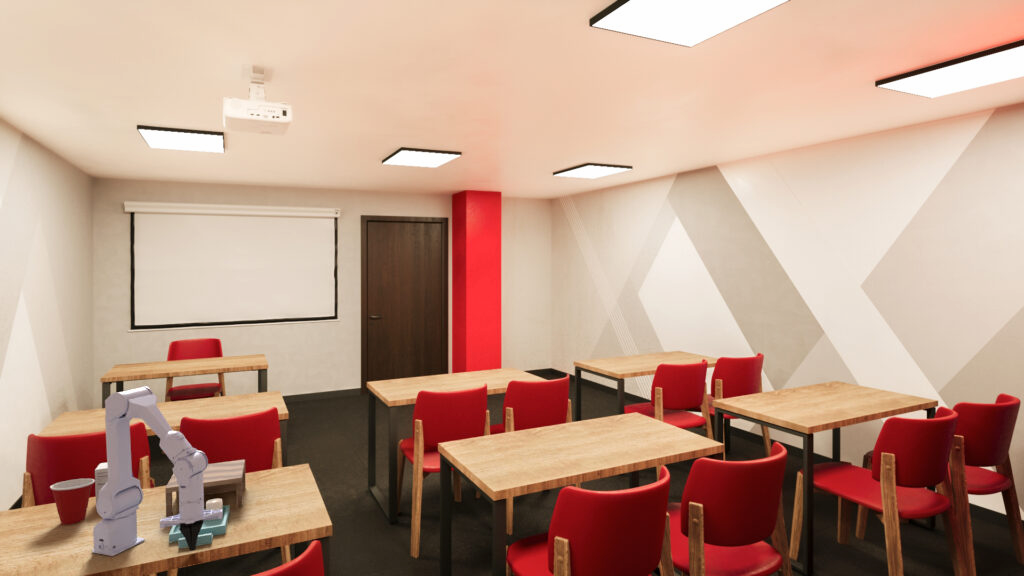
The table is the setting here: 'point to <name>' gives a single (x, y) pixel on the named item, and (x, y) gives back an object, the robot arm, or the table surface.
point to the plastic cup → (72, 499)
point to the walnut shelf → (214, 482)
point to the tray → (204, 526)
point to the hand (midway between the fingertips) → (192, 549)
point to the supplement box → (100, 478)
